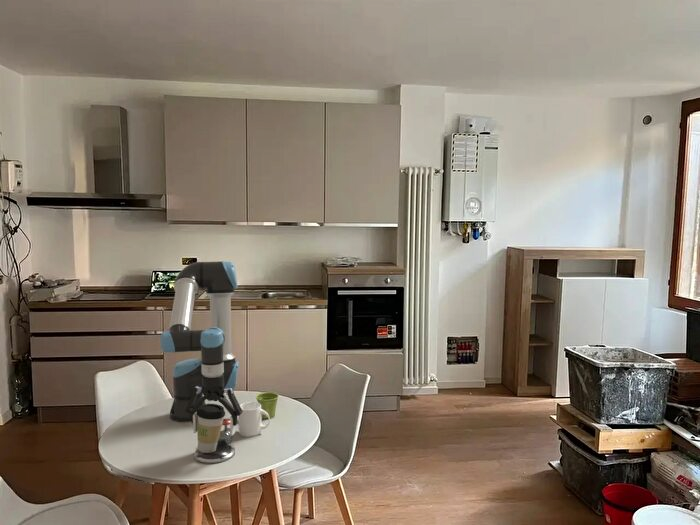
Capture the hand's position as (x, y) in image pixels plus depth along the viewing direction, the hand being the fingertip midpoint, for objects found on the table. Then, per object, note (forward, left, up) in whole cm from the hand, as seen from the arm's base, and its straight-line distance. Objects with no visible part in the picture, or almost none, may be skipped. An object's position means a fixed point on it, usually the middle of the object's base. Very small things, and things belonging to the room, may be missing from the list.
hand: (214, 432), depth 188 cm
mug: (-20, +8, -8) cm, 23 cm away
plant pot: (-37, +8, -8) cm, 38 cm away
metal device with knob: (-3, 0, -9) cm, 9 cm away
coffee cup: (0, -3, -6) cm, 7 cm away
